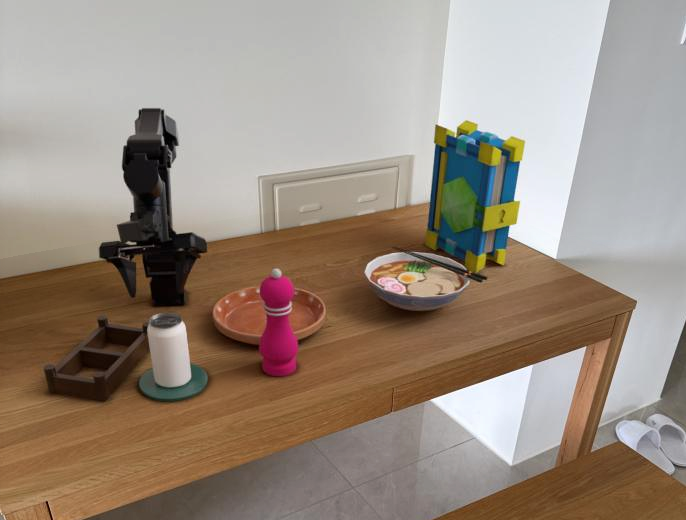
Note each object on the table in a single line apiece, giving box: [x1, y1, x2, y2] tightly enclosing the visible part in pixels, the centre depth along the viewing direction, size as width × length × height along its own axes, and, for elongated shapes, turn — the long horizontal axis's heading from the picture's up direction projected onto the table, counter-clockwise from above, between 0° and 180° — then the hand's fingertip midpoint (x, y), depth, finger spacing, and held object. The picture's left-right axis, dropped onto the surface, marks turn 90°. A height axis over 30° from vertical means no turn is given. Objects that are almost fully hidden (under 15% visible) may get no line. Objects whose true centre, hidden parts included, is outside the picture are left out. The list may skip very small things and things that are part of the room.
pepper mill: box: [258, 268, 299, 377], centre depth 129 cm, size 7×7×20 cm
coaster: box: [138, 363, 209, 402], centre depth 129 cm, size 12×12×1 cm
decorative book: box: [424, 119, 526, 274], centre depth 173 cm, size 14×23×30 cm, turn 33°
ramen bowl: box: [364, 246, 488, 312], centre depth 156 cm, size 25×23×8 cm
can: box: [147, 312, 191, 388], centre depth 125 cm, size 6×6×12 cm
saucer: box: [212, 285, 327, 346], centre depth 147 cm, size 23×23×4 cm
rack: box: [43, 315, 150, 402], centre depth 131 cm, size 20×11×5 cm, turn 168°
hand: (156, 295), depth 130 cm, fingers open, 9 cm apart
